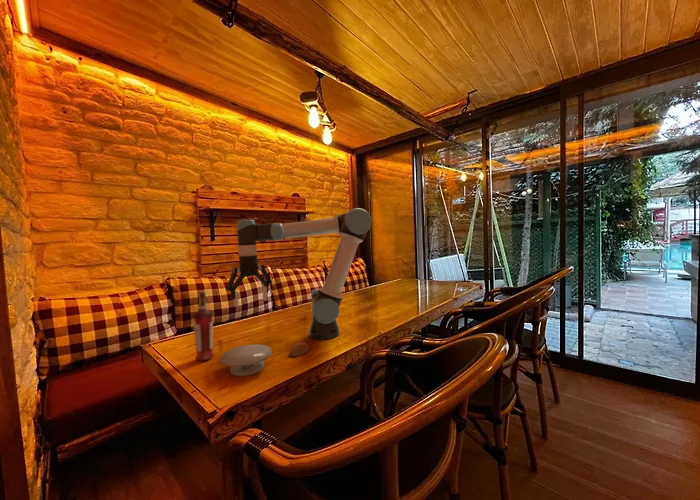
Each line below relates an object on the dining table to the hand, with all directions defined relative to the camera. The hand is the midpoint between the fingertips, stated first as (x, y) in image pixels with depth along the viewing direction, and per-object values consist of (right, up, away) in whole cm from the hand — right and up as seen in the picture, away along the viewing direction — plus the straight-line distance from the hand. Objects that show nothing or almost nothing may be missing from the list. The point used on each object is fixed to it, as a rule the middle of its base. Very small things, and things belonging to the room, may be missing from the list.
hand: (251, 303), depth 127 cm
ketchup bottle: (-17, -22, -7) cm, 28 cm away
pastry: (+22, -21, -3) cm, 30 cm away
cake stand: (+5, -22, -18) cm, 28 cm away
